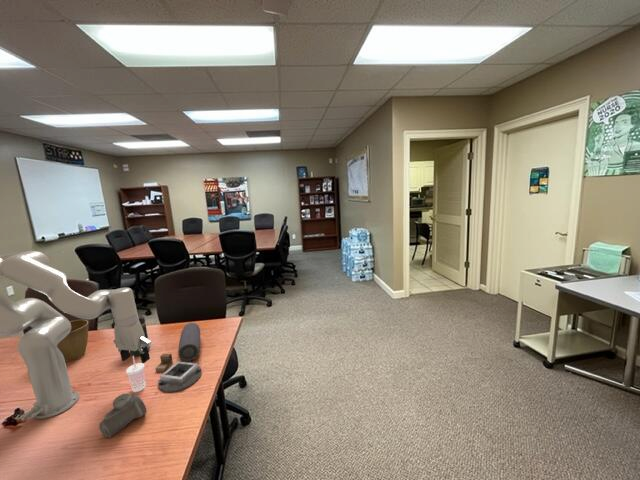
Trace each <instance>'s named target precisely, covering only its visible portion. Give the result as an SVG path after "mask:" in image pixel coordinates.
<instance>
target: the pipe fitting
mask: <svg viewBox="0 0 640 480" xmlns="http://www.w3.org/2000/svg"><path fill="white" fill-rule="evenodd" d="M112 406H113V408H112V409H111V410H109V411H108V412H107V413H106V414H104V417H103V419H102V420H101V421H99V425H98V428H99V430H100V432H101V434H102V435H103V437H105V438H111V437H113V436H114V435H115V434H116V433H117V434H118V432H119V431H121V430H122V429H123V428H124V427H126V426H127V425H128V424H129V423H130V422H132V421H133V420H134V419H138V418H141V417H143V416H144V415H146V413H147V411H148V410H147V407H146V404H145V403H144V401H143V400H142V399H141V398H140V396H139V395H138V394H135V393H132V394H130V393H129V392H128V393H122V394H120V395H118V396H117V397H115V398H114V400H113V401H112Z"/></svg>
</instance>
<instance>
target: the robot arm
mask: <svg viewBox="0 0 640 480" xmlns="http://www.w3.org/2000/svg"><path fill="white" fill-rule="evenodd" d="M2 279H3V280H4V279H9V280H11V281H14V282H15V283H18V284H19V285H22V286H24V287H27V288H30V289H32V290H34V291H36V292H39V293H41V294H44V295H46V296H47V298H48V300H49V301H50V302H51V303H52V304H53V305H54V306H55V307H56V308H57V309H58V310H60V311H62V312H63V313H66V314H68V315H70V316H73V317H75V318H79V319H80V320H93V319H96V318H98V317H99V316H102V314H103V313H105V311H107V310H108V309H110V310H111V315H112V317H113V321H114V327H113V328H114V329H113V330H114V331H113V332H114V339H113V340H112V341H113V343H114V345H115V347H116V349H118V352H119V354H120V359H121V362H125V361H126V360H128V359H129V358H131V353H130V351H136V350H137V349H138V350H139V352H140V353H141V354H140V355H139V357H140V360H141V363H143V364H145V363H147V362H148V361H149V360H150V359H151V357H150V353H149V351H150V350H149V348H150V349H151V344H152V341H151V340H149V339H148V340H147V339H146V338H145V334H144V331H143V328H142V326H141V323H140V321H139V318H138V310H137V304H136V301H135V296H134V291H133V289H132V288H130V287H120V288H119V287H118V288H116V289H99V290H96V291H94V292H93V293H91V294H89V295H88V296H84V295H82V294H80V293H78V292H75V291H74V290H73V289H71V287H70V286H69V284H68V275H67V274H66V273H65V272H64V271H61V270H58V269H57V268H54V267H52V266H50V259H49V257H48V256H47V254H45V253H43V252H41V251H37V250H25V251H21V252H13V253H6V254H0V280H2ZM60 311H57V310H56V309H55V308H53V307H52V306H51V305H49V304H48V303H47V302H45V301H44V300H41V299H39V298H35V297H28V298H27V297H26V298H23V299H19V300H17V301H13V300H11V299H10V298H8V297H7V296H6V295H4V294H3V293H2V292H0V334H3V335H5V336H6V335H8V336H11V335H15V334H18V333H20V332H23V330H25V329H27V328H28V327H31V329H29V330H28V331H27V332H25V333H24V334H23V335H22V336H21V337H20V339H19V340H18V343H17V351H18V353H19V354H20V357H21V358H22V359H23V362H24V363H25V366H26V369H27V373H28V376H29V379H30V382H31V386H32V390H33V394H34V397H35V400H36V401H35V402H34V403H33V404H32V408H30V409H29V410H28V411H26V412H24V413H23V414H21V415H20V416H19V418H20V420H21V421H23V422H24V421H25V420H27V419H29V418H30V419H34V418H35V419H38V420H40V419H42V420H43V419H47V418H51V417H55V416H57V415H59V414H62V413H64V412H65V411H67V410H69V409H70V408H72V407H73V406H74V405H75V404H76V403H77V402H78V401H79V399H80V394H79V392H78V391H76V390H75V391H74V390H73V388H72V384H71V380H70V375H69V372H68V368H67V364H66V361H65V359H64V356H63V354H62V353H61V351H60V350H59V349H58V348H57V344H58V343H59V342H60V341H62V340H63V339H64V338H65V337H66V336H67V335H68V334H69V333H70V331H71V323H70V320H69V319H68V318H67V317H66V316H64V315H63V314H62V313H60ZM141 347H144V349H143V350H142V348H141ZM148 350H149V351H148Z"/></svg>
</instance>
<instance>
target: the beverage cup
mask: <svg viewBox="0 0 640 480" xmlns="http://www.w3.org/2000/svg"><path fill="white" fill-rule="evenodd" d="M131 356H132V362H133V364H132V365H130V366H128V367H127V368H126V370H125V372H126V375H127V377H128V380H129V384H130V387H131V390H132V392H134V393H137V392H140V391H142V390H144V389H145V388H146V386H147V384H146V375H145V367H146V366H145V363H142V362H137V363H136V361H135V356H134V355H131Z"/></svg>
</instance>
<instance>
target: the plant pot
mask: <svg viewBox="0 0 640 480" xmlns="http://www.w3.org/2000/svg"><path fill="white" fill-rule="evenodd" d="M69 322H70V323H71V331H70V333H69V334H68V335H67V336H66V337H65V338H64V339H63V340H62V341H60V342H59V343H58V344H57V348H58V349H59V350H60V351H61V353H62V354H63V356H64V359H65V362H72V361H76V360H78V359H80V358H82V357H83V356H84V355H85V354H86V351H87V347H88V340H89V339H88V338H89V320H88V319H75V320H71V321H70V320H69Z"/></svg>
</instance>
